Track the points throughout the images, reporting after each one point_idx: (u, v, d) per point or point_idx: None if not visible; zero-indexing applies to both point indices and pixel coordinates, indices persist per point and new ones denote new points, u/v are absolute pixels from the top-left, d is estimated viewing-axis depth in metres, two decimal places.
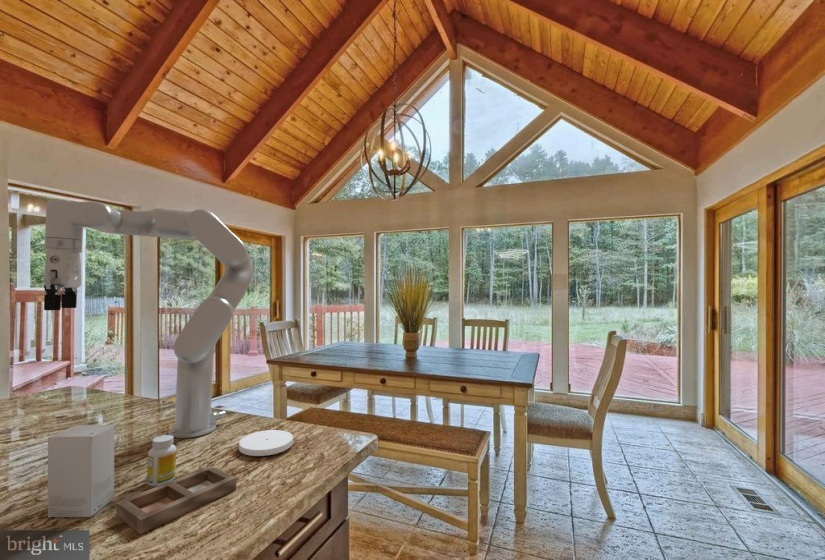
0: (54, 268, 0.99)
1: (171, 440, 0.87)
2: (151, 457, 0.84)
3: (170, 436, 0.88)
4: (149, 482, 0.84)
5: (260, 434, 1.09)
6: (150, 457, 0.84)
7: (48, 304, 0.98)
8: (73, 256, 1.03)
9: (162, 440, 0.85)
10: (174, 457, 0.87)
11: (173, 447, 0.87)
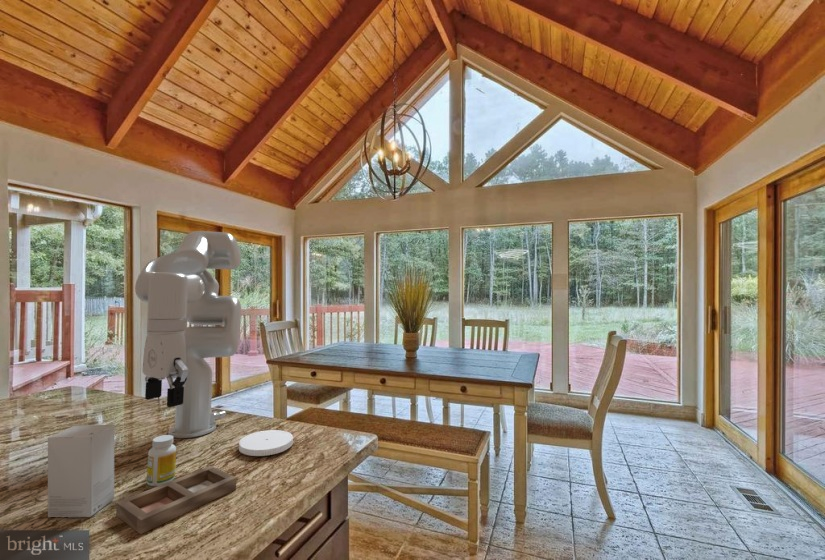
0: None
1: (171, 440, 0.87)
2: (151, 457, 0.84)
3: (170, 436, 0.88)
4: (149, 482, 0.84)
5: (260, 434, 1.09)
6: (150, 457, 0.84)
7: None
8: (149, 339, 0.86)
9: (162, 440, 0.85)
10: (174, 457, 0.87)
11: (173, 447, 0.87)
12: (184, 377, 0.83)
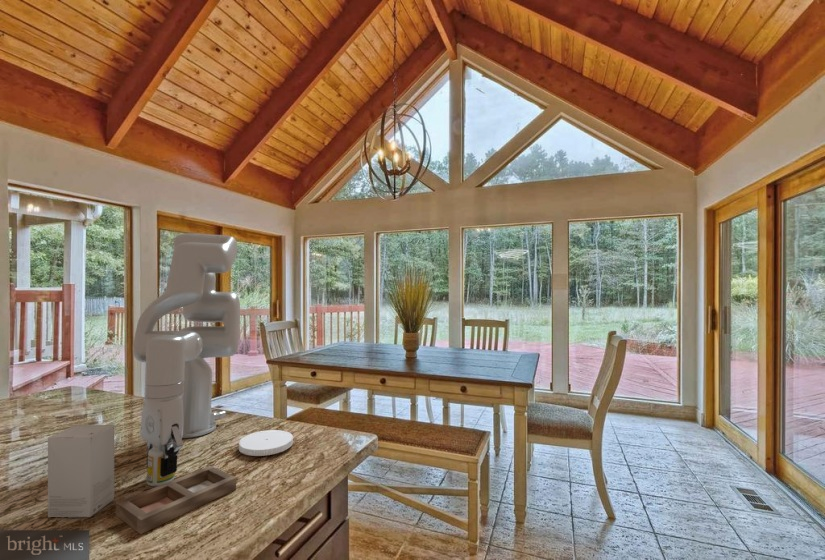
0: None
1: (171, 440, 0.87)
2: (151, 457, 0.84)
3: None
4: (149, 482, 0.84)
5: (260, 434, 1.09)
6: (150, 457, 0.84)
7: None
8: (147, 404, 0.85)
9: None
10: None
11: None
12: (177, 449, 0.83)
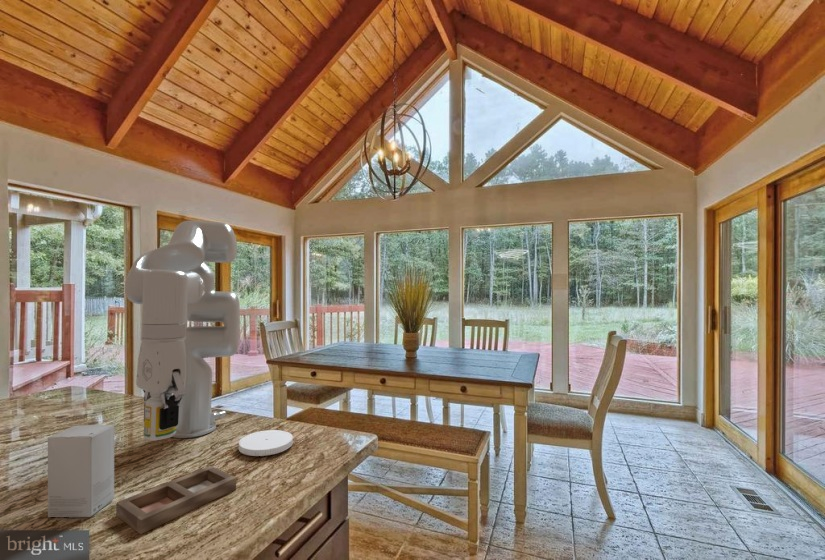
0: None
1: (172, 389, 0.75)
2: (148, 407, 0.73)
3: None
4: (146, 436, 0.73)
5: (260, 434, 1.09)
6: (147, 407, 0.73)
7: None
8: (144, 347, 0.74)
9: None
10: None
11: None
12: (179, 397, 0.72)
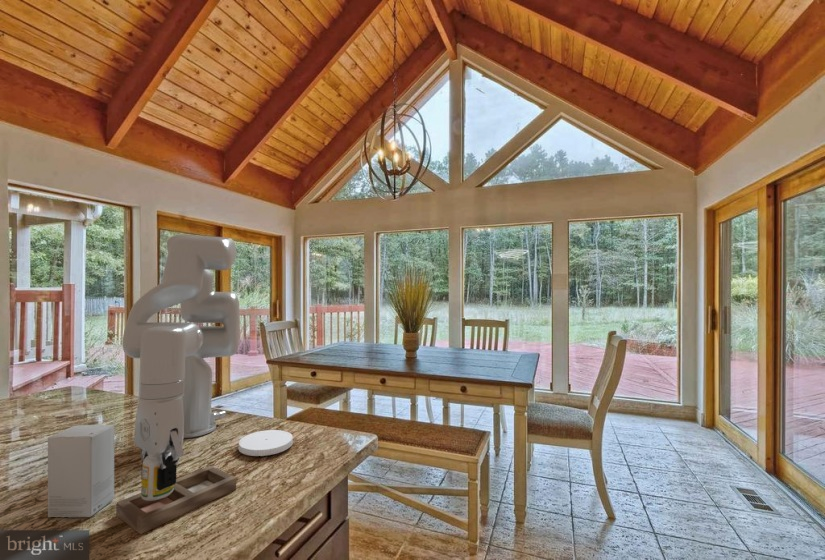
0: None
1: (169, 447, 0.75)
2: (146, 467, 0.72)
3: None
4: (144, 496, 0.72)
5: (260, 434, 1.09)
6: (144, 467, 0.73)
7: None
8: (141, 405, 0.74)
9: None
10: None
11: None
12: (177, 458, 0.72)
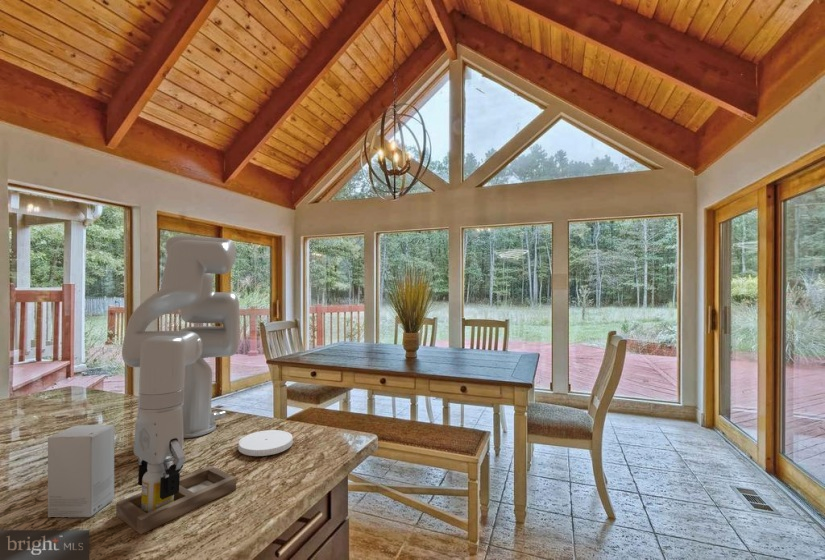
0: None
1: (169, 463, 0.75)
2: (145, 483, 0.73)
3: (168, 458, 0.76)
4: None
5: (260, 434, 1.09)
6: (144, 483, 0.73)
7: None
8: (141, 415, 0.74)
9: None
10: None
11: None
12: (180, 465, 0.71)
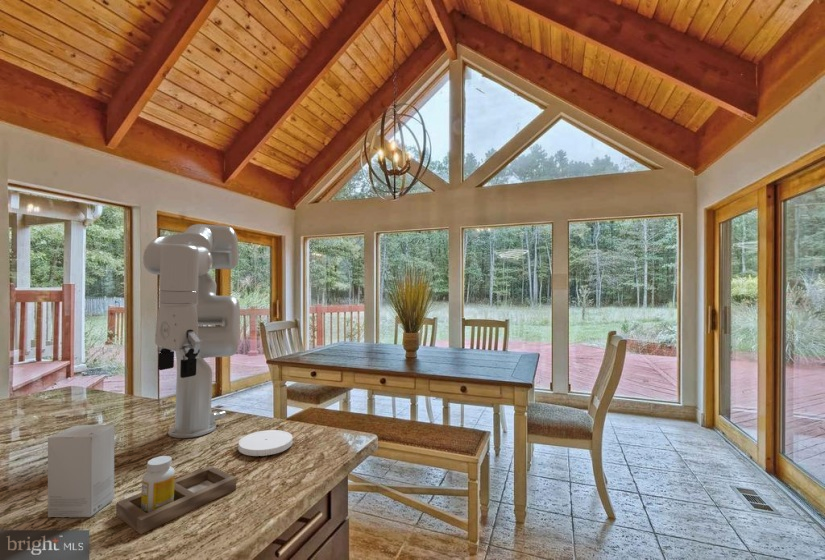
0: None
1: (169, 462, 0.75)
2: (145, 483, 0.73)
3: (168, 458, 0.76)
4: None
5: (260, 434, 1.09)
6: (144, 483, 0.73)
7: None
8: (162, 310, 0.86)
9: (158, 463, 0.74)
10: (172, 482, 0.75)
11: (171, 470, 0.76)
12: (197, 349, 0.83)
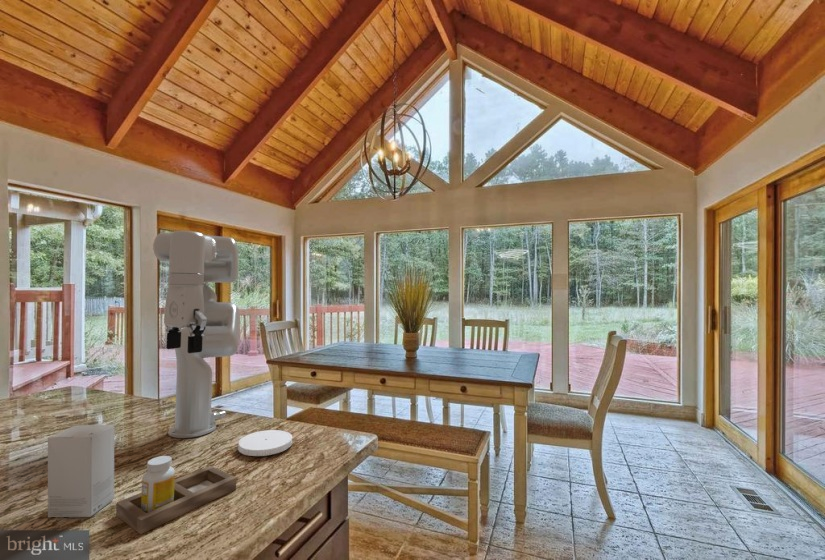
0: None
1: (169, 462, 0.75)
2: (145, 483, 0.73)
3: (168, 458, 0.76)
4: None
5: (259, 434, 1.09)
6: (144, 483, 0.73)
7: None
8: (170, 292, 0.93)
9: (158, 463, 0.74)
10: (172, 482, 0.75)
11: (171, 470, 0.76)
12: (203, 326, 0.90)
